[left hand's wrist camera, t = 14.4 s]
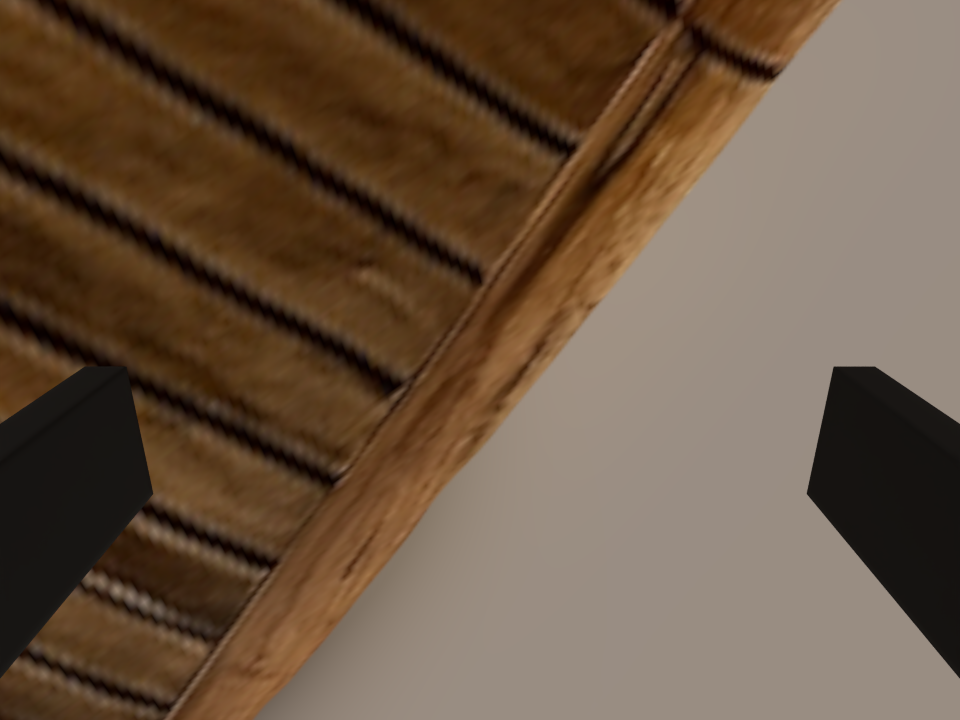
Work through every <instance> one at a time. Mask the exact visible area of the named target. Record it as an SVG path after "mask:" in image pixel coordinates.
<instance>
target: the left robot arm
mask: <svg viewBox="0 0 960 720" xmlns="http://www.w3.org/2000/svg"><path fill="white" fill-rule="evenodd" d="M152 495H153V490H152V485H151V481H150V476H149V471H148V467H147V462H146V457H145V452H144V448H143V443H142V438H141V434H140V429H139V424H138V419H137V415H136V410H135V405H134V401H133V396H132V391H131V386H130V382H129V377H128V372H127V368H126V367H84V368H82V369H81V370H79V371H78V372H76V373H75V374H73V375H72V376H70V377H69V378H67V379H66V380H64V381H63V382H62V383H60V384H59V385H57V386H56V387H54V388H53V389H51V390H50V391H48V392H47V393H45V394H44V395H42V396H41V397H39V398H38V399H36V400H35V401H33V402H32V403H30V404H29V405H27V406H26V407H25V408H23V409H22V410H20V411H19V412H17V413H16V414H14V415H13V416H11V417H10V418H8V419H7V420H5V421H4V422H2V423H1V424H0V678H1V677H2V676H3V674H4V673H5V672H6V671H7V670H8V668H9V667H10V666H11V665H12V664H13V662H14V661H15V660H16V659H17V658H18V656H19V655H20V654H21V653H22V652H23V650H24V649H25V648H26V647H27V645H28V644H29V643H30V642H31V641H32V639H33V638H34V637H35V636H36V635H37V633H38V632H39V631H40V630H41V629H42V627H43V626H44V625H45V624H46V623H47V621H48V620H49V619H50V618H51V617H52V615H53V614H54V613H55V612H56V611H57V609H58V608H59V607H60V606H61V604H62V603H63V602H64V601H65V600H66V598H67V597H68V596H69V595H70V594H71V592H72V591H73V590H74V589H75V588H76V586H77V585H78V584H79V583H80V582H81V580H82V579H83V578H84V577H85V576H86V574H87V573H88V572H89V571H90V570H91V568H92V567H93V566H94V565H95V563H96V562H97V561H98V560H99V559H100V557H101V556H102V555H103V554H104V553H105V551H106V550H107V549H108V548H109V547H110V545H111V544H112V543H113V542H114V541H115V539H116V538H117V537H118V536H119V535H120V533H121V532H122V531H123V530H124V529H125V527H126V526H127V525H128V524H129V522H130V521H131V520H132V519H133V518H134V516H135V515H136V514H137V513H138V512H139V510H140V509H141V508H142V507H143V506H144V504H145V503H146V502H147V501H148V500H149V498H150V497H151V496H152ZM807 495H808V496H809V497H810V498H811V500H812V501H813V502H814V503H815V504H816V506H817V507H818V508H819V509H820V510H821V512H822V513H823V514H824V515H825V516H826V518H827V519H828V520H829V521H830V522H831V524H832V525H833V526H834V527H835V528H836V530H837V531H838V532H839V533H840V535H841V536H842V537H843V538H844V539H845V541H846V542H847V543H848V544H849V545H850V547H851V548H852V549H853V550H854V551H855V553H856V554H857V555H858V556H859V557H860V559H861V560H862V561H863V562H864V563H865V565H866V566H867V567H868V568H869V569H870V571H871V572H872V573H873V574H874V575H875V577H876V578H877V579H878V580H879V582H880V583H881V584H882V585H883V586H884V588H885V589H886V590H887V591H888V592H889V594H890V595H891V596H892V597H893V598H894V600H895V601H896V602H897V603H898V604H899V606H900V607H901V608H902V609H903V610H904V612H905V613H906V614H907V615H908V617H909V618H910V619H911V620H912V621H913V623H914V624H915V625H916V626H917V627H918V628H919V630H920V631H921V632H922V633H923V635H924V636H925V637H926V638H927V639H928V641H929V642H930V643H931V644H932V645H933V647H934V648H935V649H936V650H937V652H938V653H939V654H940V655H941V656H942V657H943V659H944V660H945V661H946V662H947V664H948V665H949V666H950V667H951V668H952V670H953V671H954V672H955V673H956V674H957V676H958V677H959V678H960V424H959V423H958V422H956V421H955V420H953V419H952V418H950V417H949V416H947V415H946V414H944V413H943V412H941V411H940V410H938V409H937V408H935V407H934V406H933V405H931V404H930V403H928V402H927V401H925V400H924V399H922V398H921V397H919V396H918V395H916V394H915V393H913V392H912V391H910V390H909V389H907V388H906V387H904V386H903V385H901V384H900V383H898V382H897V381H896V380H894V379H893V378H891V377H890V376H888V375H887V374H885V373H884V372H882V371H881V370H879V369H878V368H876V367H834V368H833V372H832V377H831V382H830V387H829V391H828V396H827V401H826V405H825V410H824V415H823V419H822V424H821V429H820V434H819V438H818V443H817V448H816V452H815V457H814V462H813V467H812V471H811V476H810V481H809V485H808V490H807Z"/></svg>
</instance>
